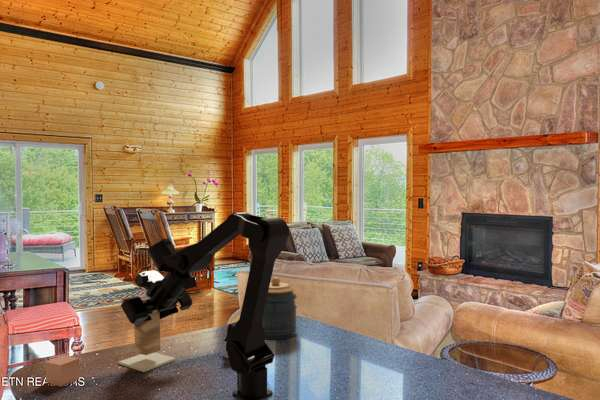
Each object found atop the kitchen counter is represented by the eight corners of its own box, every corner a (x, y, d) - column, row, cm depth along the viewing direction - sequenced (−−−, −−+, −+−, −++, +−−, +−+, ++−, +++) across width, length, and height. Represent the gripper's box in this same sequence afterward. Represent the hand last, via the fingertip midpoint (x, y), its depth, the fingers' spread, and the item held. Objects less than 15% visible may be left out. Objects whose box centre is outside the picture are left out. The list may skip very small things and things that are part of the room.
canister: (279, 325, 162) (279, 272, 161) (305, 334, 152) (305, 277, 151) (246, 333, 153) (246, 276, 153) (271, 343, 143) (271, 283, 143)
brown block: (161, 350, 129) (159, 296, 128) (146, 355, 125) (144, 300, 124) (149, 347, 131) (147, 294, 131) (134, 352, 127) (132, 298, 127)
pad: (175, 360, 129) (175, 358, 129) (143, 372, 121) (143, 369, 121) (150, 353, 135) (150, 350, 135) (118, 363, 127) (118, 361, 127)
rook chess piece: (236, 359, 130) (236, 329, 130) (220, 358, 131) (220, 328, 131) (241, 353, 134) (241, 324, 134) (226, 352, 135) (225, 323, 135)
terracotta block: (79, 379, 117) (78, 358, 117) (61, 386, 113) (60, 365, 112) (64, 375, 119) (63, 355, 119) (45, 383, 115) (45, 362, 114)
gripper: (184, 256, 133) (157, 292, 139) (125, 266, 117) (98, 306, 124) (205, 289, 129) (177, 324, 135) (147, 303, 113) (118, 342, 120)
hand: (143, 323), depth 129 cm, fingers closed on brown block, 4 cm apart
